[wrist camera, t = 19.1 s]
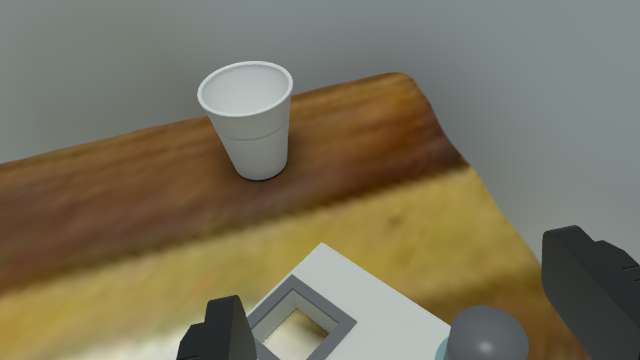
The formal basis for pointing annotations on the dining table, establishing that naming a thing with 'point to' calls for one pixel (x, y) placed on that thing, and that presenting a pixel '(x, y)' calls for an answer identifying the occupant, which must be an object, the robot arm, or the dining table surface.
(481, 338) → the plug
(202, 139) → the dining table surface
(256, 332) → the panel
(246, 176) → the cup
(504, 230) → the dining table surface
